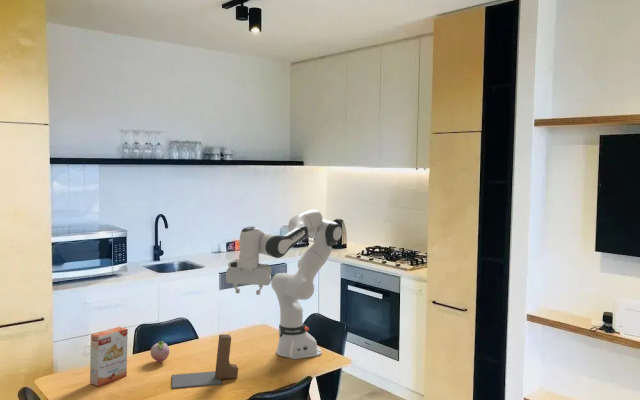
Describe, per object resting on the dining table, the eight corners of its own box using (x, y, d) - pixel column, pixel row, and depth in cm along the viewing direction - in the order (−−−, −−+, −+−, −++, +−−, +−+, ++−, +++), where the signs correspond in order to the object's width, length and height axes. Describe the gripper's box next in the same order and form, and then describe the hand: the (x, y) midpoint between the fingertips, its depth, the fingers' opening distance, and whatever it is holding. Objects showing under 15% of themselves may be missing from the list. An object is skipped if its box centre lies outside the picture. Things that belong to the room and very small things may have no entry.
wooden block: (235, 374, 222) (239, 334, 222) (237, 378, 218) (241, 337, 218) (214, 375, 219) (219, 334, 218) (216, 379, 215) (221, 337, 214)
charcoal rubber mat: (218, 372, 224) (219, 371, 224) (221, 384, 212) (221, 383, 212) (172, 376, 219) (172, 374, 219) (171, 388, 206) (172, 387, 206)
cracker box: (98, 387, 205) (98, 336, 204) (89, 383, 209) (89, 334, 207) (127, 376, 217) (128, 328, 216) (118, 372, 220) (119, 325, 219)
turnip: (149, 359, 237) (149, 338, 236) (167, 357, 240) (167, 336, 239) (151, 367, 228) (151, 345, 227) (170, 364, 231) (170, 343, 231)
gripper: (273, 263, 228) (272, 293, 229) (228, 260, 230) (228, 290, 231) (270, 265, 222) (269, 296, 222) (224, 263, 224) (224, 294, 225)
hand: (247, 293), depth 227 cm, fingers open, 8 cm apart
